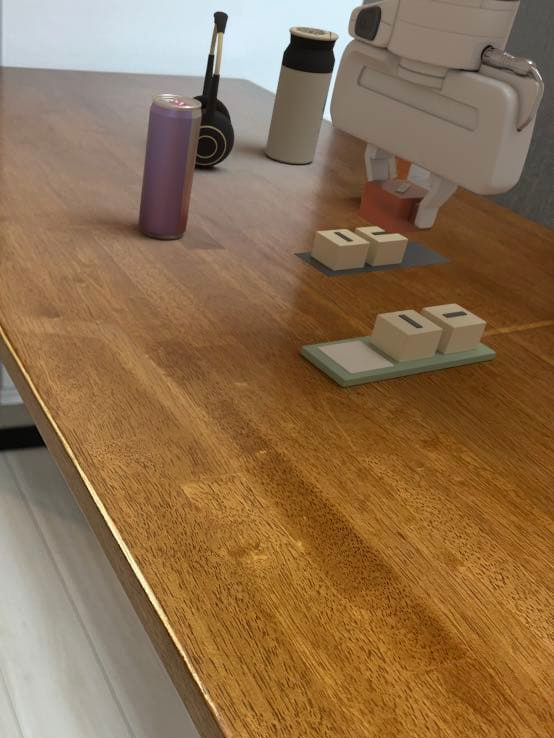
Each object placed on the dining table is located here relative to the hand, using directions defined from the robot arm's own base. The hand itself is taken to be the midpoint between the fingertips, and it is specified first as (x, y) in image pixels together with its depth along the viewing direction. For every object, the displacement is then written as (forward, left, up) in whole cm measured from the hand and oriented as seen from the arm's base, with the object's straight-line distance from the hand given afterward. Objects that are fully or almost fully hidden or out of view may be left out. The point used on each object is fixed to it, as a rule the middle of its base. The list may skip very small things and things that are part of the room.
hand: (396, 212), depth 75 cm
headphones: (-19, -62, -15) cm, 66 cm away
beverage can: (+2, -36, -15) cm, 39 cm away
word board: (-6, 0, -15) cm, 16 cm away
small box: (-36, -36, -15) cm, 52 cm away
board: (-20, -21, -15) cm, 32 cm away
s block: (0, 0, -1) cm, 1 cm away
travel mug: (-36, -62, -15) cm, 72 cm away
